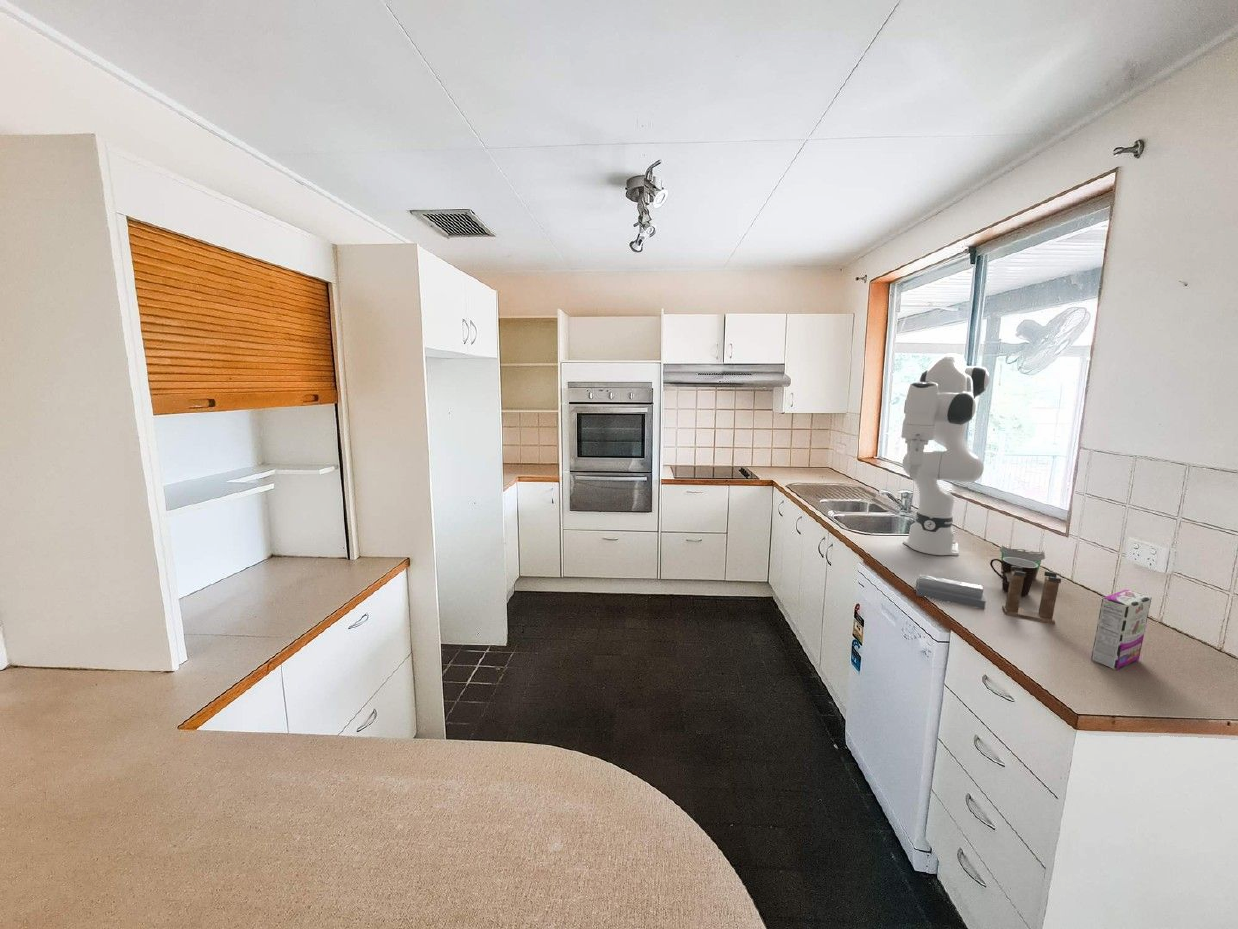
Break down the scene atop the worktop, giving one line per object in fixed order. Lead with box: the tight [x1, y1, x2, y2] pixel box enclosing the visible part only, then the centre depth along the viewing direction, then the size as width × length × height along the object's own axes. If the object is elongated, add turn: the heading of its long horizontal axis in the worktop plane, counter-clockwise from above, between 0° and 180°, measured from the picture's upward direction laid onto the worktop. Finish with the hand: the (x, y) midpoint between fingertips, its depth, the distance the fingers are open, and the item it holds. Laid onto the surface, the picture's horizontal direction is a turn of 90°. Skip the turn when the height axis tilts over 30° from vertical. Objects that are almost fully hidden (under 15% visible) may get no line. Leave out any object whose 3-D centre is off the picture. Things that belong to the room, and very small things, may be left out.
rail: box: [918, 574, 984, 598], centre depth 149 cm, size 16×3×3 cm, turn 60°
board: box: [915, 578, 986, 610], centre depth 149 cm, size 17×8×2 cm, turn 60°
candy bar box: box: [1090, 589, 1153, 671], centre depth 115 cm, size 11×5×16 cm, turn 114°
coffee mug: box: [989, 557, 1038, 598], centre depth 154 cm, size 12×9×10 cm
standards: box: [1001, 566, 1062, 625], centre depth 137 cm, size 11×5×13 cm, turn 60°
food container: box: [999, 544, 1046, 582], centre depth 163 cm, size 12×6×10 cm, turn 68°
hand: (912, 475), depth 157 cm, fingers open, 8 cm apart
